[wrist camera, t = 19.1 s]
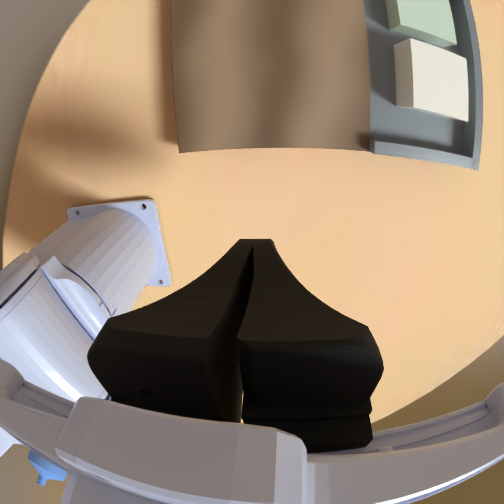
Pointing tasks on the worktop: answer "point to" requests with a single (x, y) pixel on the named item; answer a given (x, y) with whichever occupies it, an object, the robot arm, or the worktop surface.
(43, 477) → the water jug
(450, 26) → the sage tile
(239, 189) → the worktop surface
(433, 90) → the cream tile
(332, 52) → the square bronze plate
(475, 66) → the slate tray
